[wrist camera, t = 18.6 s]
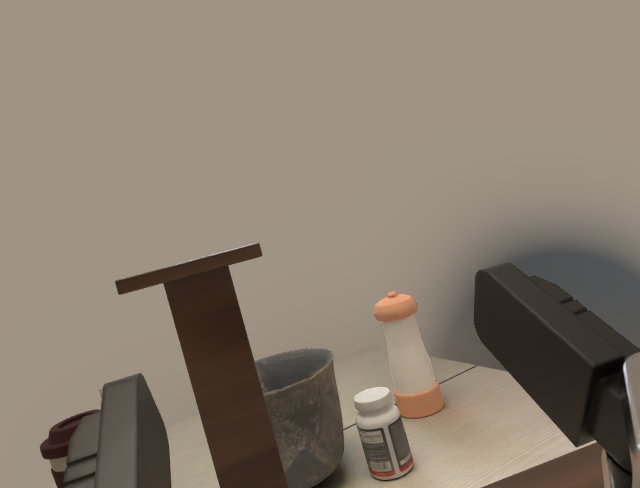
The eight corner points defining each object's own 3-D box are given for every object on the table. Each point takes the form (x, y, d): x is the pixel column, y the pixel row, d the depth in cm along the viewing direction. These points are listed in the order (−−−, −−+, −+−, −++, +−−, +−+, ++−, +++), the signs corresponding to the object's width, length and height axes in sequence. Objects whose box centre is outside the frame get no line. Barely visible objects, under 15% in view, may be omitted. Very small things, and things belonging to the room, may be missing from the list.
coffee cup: (76, 519, 74) (48, 420, 73) (145, 493, 76) (118, 398, 76) (58, 558, 64) (25, 445, 64) (138, 527, 66) (107, 418, 66)
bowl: (222, 482, 73) (194, 382, 72) (329, 433, 80) (304, 342, 80) (258, 538, 57) (222, 410, 56) (387, 470, 64) (357, 357, 63)
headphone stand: (716, 514, 42) (625, 144, 41) (239, 727, 35) (114, 280, 34) (602, 454, 55) (530, 170, 54) (235, 600, 48) (144, 273, 47)
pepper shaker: (451, 398, 81) (421, 283, 81) (433, 418, 75) (401, 295, 75) (410, 398, 85) (382, 289, 85) (391, 417, 80) (360, 300, 79)
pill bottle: (403, 452, 67) (384, 381, 67) (422, 469, 62) (401, 392, 62) (363, 468, 66) (344, 395, 66) (379, 487, 60) (358, 408, 60)
